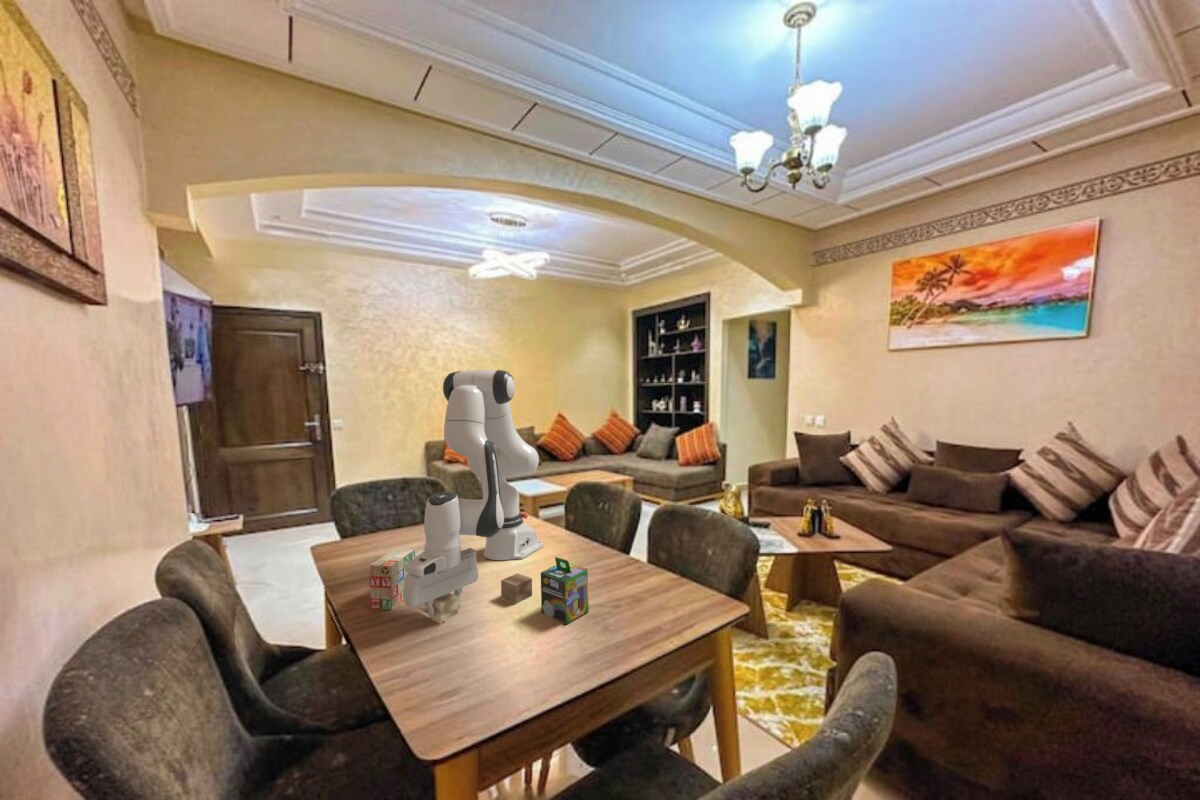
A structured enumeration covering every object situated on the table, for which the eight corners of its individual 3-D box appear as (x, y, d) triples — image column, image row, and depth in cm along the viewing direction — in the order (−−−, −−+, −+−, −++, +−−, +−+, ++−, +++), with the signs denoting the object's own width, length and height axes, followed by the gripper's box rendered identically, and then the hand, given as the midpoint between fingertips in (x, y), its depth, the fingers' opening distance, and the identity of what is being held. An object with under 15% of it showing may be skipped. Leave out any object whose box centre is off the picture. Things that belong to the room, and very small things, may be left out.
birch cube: (446, 610, 121) (445, 591, 121) (457, 615, 118) (457, 596, 118) (429, 617, 117) (429, 598, 117) (440, 623, 114) (440, 604, 114)
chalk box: (589, 612, 120) (589, 556, 120) (565, 626, 113) (565, 567, 112) (563, 601, 126) (563, 548, 125) (539, 614, 119) (539, 558, 118)
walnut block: (517, 590, 131) (517, 573, 131) (532, 595, 128) (531, 578, 128) (501, 598, 127) (501, 580, 126) (516, 604, 123) (516, 585, 123)
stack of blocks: (412, 576, 143) (411, 538, 143) (431, 577, 142) (430, 538, 142) (369, 609, 122) (369, 564, 122) (391, 610, 121) (391, 565, 121)
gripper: (468, 543, 127) (469, 592, 128) (399, 566, 111) (400, 622, 111) (483, 548, 124) (483, 598, 124) (413, 572, 107) (414, 630, 107)
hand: (443, 610), depth 117 cm, fingers closed on birch cube, 5 cm apart
